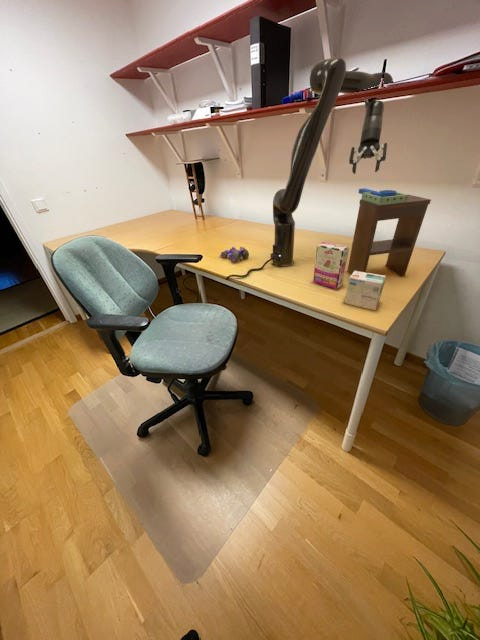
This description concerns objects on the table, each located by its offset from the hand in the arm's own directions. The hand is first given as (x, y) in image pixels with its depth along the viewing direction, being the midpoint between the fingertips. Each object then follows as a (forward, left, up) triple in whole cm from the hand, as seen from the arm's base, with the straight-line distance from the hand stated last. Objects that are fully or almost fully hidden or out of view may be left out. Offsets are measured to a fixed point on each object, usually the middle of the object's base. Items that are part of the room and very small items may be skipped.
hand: (365, 172), depth 110 cm
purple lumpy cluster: (-51, +34, -37) cm, 71 cm away
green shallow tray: (-14, -21, -7) cm, 26 cm away
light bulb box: (-34, -35, -37) cm, 61 cm away
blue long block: (-12, -16, -6) cm, 21 cm away
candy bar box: (-33, -17, -37) cm, 52 cm away
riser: (-10, -22, -37) cm, 44 cm away
